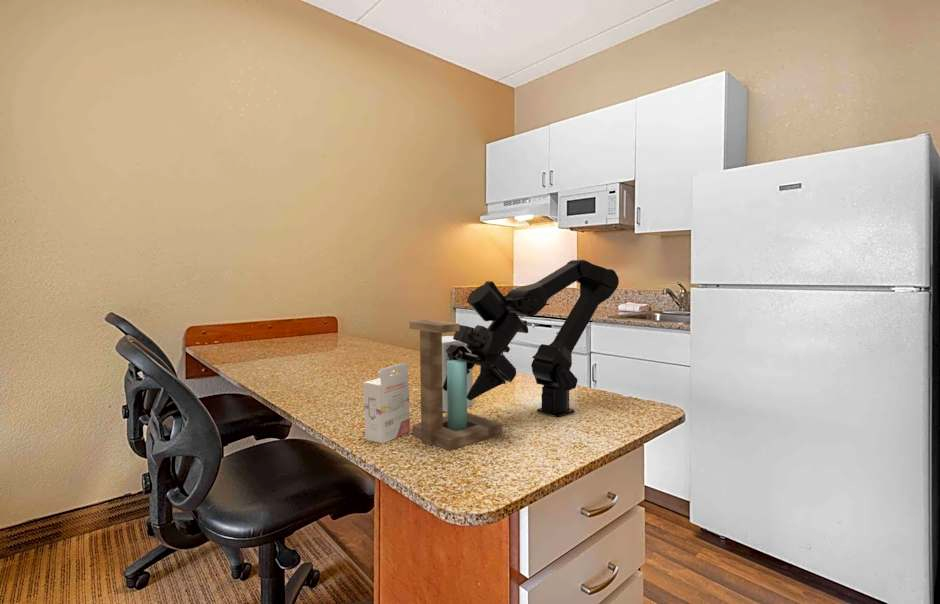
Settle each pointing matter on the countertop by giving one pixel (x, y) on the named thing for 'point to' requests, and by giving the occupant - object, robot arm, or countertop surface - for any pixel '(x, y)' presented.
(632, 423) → the countertop surface
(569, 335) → the robot arm
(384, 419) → the ink cartridge box
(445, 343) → the supplement box
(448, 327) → the socket stand
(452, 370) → the peg
